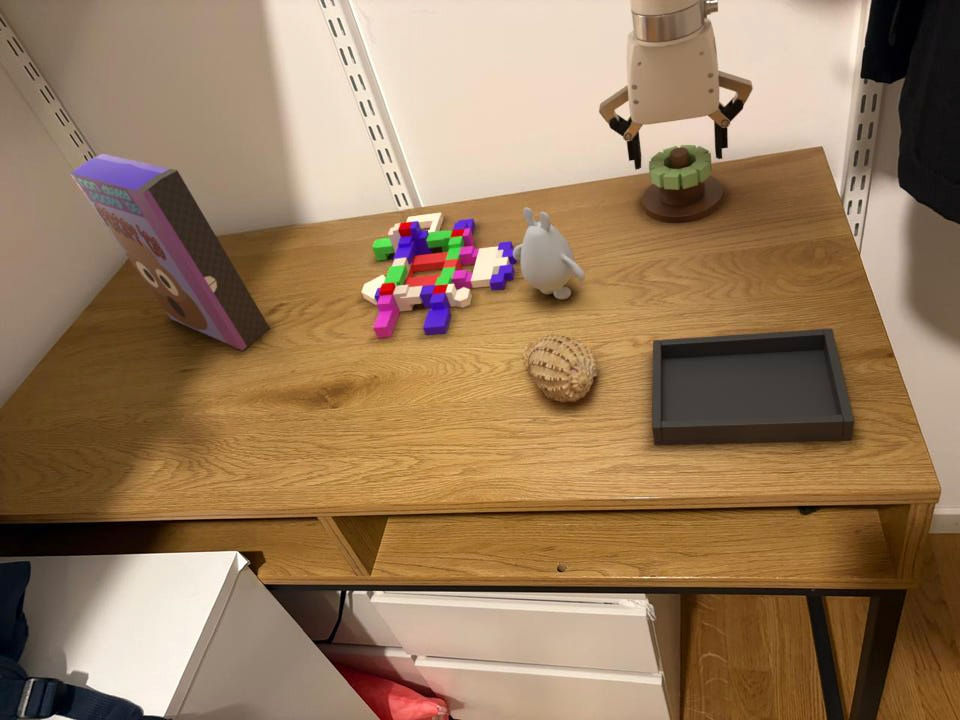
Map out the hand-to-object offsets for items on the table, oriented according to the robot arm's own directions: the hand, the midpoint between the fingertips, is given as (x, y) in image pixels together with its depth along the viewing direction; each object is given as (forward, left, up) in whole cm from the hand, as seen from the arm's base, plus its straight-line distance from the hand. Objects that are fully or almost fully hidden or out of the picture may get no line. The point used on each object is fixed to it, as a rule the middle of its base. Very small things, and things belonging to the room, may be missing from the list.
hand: (677, 158), depth 92 cm
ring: (0, 0, -2) cm, 2 cm away
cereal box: (+62, +17, -6) cm, 65 cm away
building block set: (+31, +10, -6) cm, 33 cm away
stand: (0, 0, -6) cm, 6 cm away
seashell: (+13, +31, -6) cm, 34 cm away
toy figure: (+15, +17, -6) cm, 23 cm away
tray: (-5, +35, -6) cm, 36 cm away
